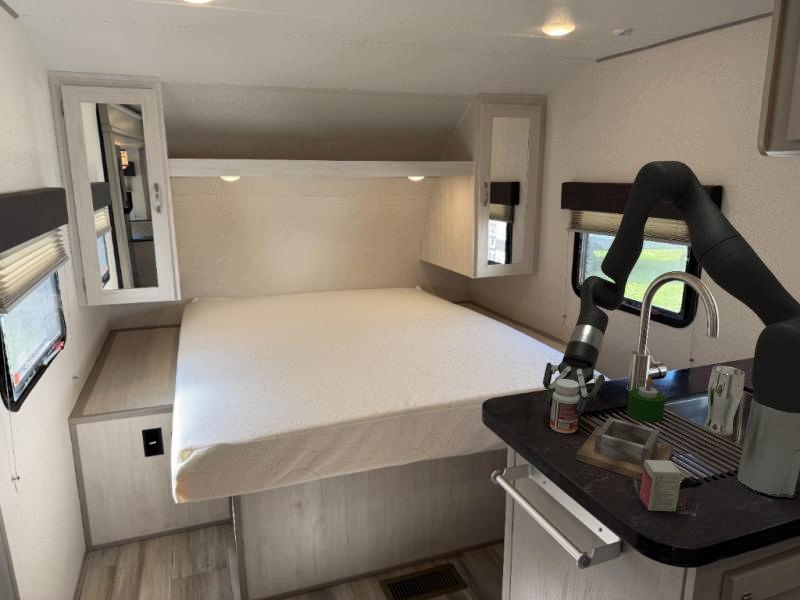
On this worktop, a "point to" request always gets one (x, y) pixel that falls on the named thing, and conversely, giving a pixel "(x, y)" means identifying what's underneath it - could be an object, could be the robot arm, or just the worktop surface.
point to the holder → (623, 448)
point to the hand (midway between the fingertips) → (563, 409)
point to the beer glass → (723, 399)
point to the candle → (646, 403)
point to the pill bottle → (565, 406)
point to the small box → (660, 485)
